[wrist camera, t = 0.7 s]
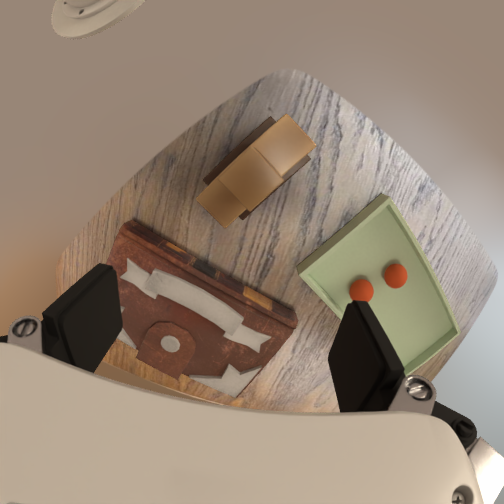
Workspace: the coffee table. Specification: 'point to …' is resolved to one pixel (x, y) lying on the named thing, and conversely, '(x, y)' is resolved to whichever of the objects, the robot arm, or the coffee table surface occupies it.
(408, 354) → the tray
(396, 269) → the orange ball
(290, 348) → the coffee table surface
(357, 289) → the orange-red sphere
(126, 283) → the book
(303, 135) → the wooden block
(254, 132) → the stand
